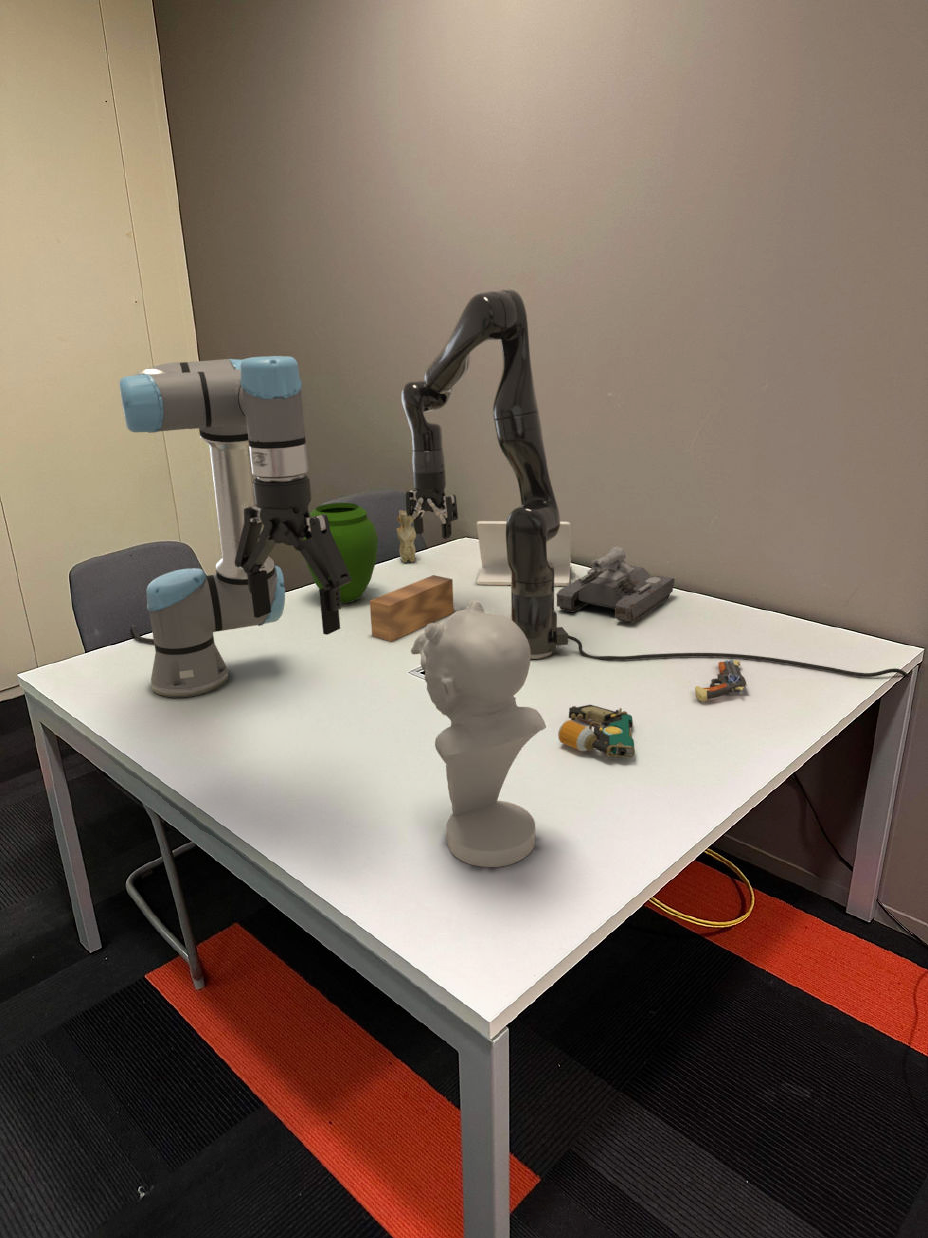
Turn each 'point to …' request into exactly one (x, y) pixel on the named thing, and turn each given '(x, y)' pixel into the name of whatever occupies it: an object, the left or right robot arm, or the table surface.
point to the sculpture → (406, 537)
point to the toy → (616, 588)
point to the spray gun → (599, 731)
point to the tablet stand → (496, 554)
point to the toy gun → (723, 682)
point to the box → (411, 607)
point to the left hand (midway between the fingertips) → (296, 623)
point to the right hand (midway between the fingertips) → (433, 535)
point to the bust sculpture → (481, 729)
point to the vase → (351, 545)
